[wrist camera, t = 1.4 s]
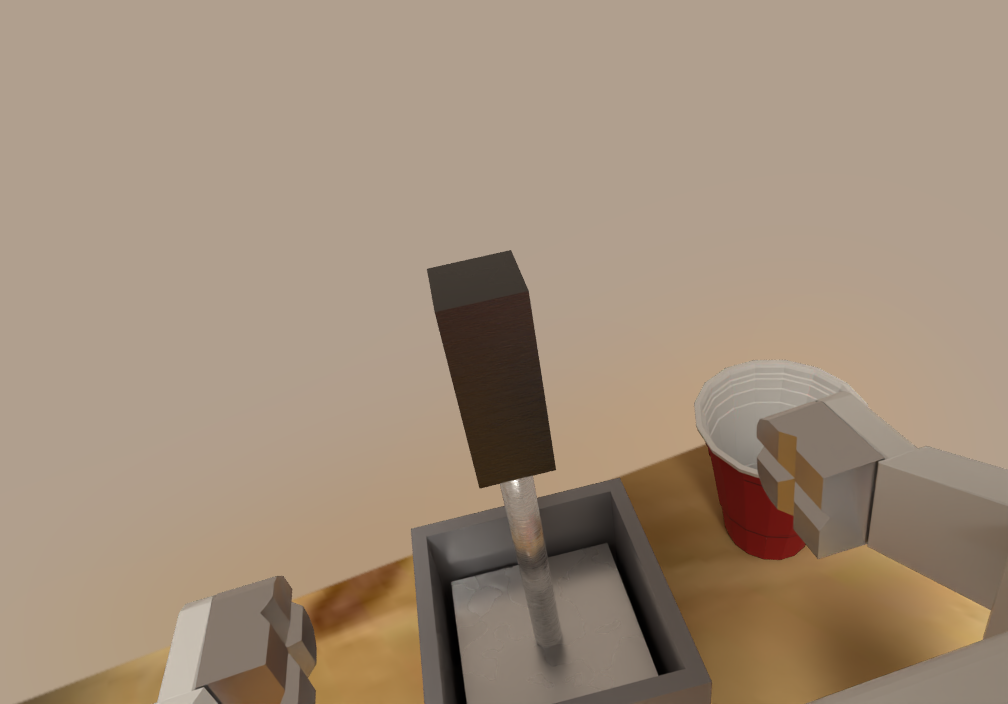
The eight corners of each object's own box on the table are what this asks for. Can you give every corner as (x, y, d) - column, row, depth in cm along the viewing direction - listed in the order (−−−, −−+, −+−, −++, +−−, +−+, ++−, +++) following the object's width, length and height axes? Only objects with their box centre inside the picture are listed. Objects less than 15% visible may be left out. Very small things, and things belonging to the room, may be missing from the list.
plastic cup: (714, 604, 45) (721, 483, 38) (676, 486, 54) (676, 370, 47) (877, 585, 44) (914, 459, 37) (811, 469, 53) (831, 349, 46)
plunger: (476, 759, 30) (332, 395, 18) (453, 590, 38) (341, 250, 25) (667, 708, 31) (659, 319, 18) (608, 551, 38) (573, 199, 26)
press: (486, 876, 35) (428, 757, 27) (459, 663, 44) (410, 528, 36) (704, 816, 35) (711, 681, 27) (630, 619, 45) (619, 477, 37)
